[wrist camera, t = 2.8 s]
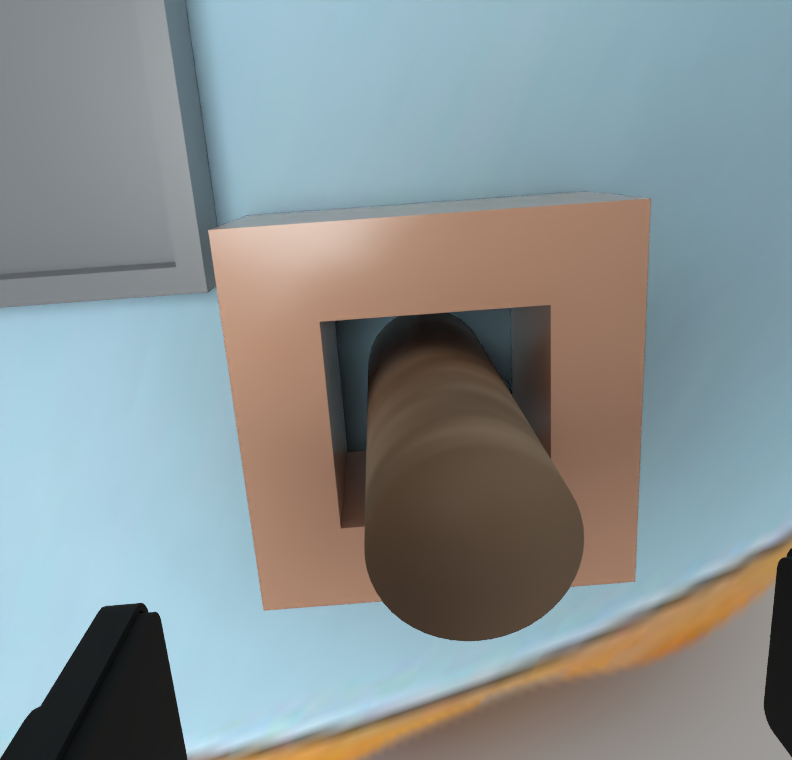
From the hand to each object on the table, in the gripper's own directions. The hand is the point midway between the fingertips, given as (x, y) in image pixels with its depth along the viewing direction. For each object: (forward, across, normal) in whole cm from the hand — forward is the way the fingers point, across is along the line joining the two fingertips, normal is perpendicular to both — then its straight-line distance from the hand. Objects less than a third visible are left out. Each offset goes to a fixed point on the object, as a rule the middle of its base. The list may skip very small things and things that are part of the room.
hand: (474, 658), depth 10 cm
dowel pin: (+14, -1, -1) cm, 14 cm away
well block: (+14, -1, -1) cm, 14 cm away
